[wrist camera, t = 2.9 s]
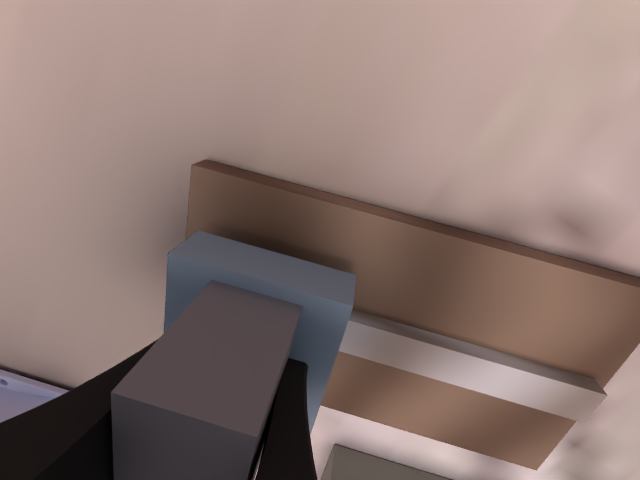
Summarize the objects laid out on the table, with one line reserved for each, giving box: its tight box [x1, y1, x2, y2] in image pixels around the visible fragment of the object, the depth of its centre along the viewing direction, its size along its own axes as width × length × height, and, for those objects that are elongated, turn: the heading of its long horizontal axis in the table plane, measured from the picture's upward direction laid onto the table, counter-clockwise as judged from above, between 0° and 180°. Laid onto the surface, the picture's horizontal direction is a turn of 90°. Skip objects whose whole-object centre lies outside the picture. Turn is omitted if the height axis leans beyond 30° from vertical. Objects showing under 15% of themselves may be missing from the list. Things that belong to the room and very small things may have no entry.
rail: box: [186, 160, 640, 470], centre depth 14 cm, size 18×10×2 cm, turn 77°
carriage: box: [111, 230, 356, 480], centre depth 11 cm, size 6×6×7 cm
